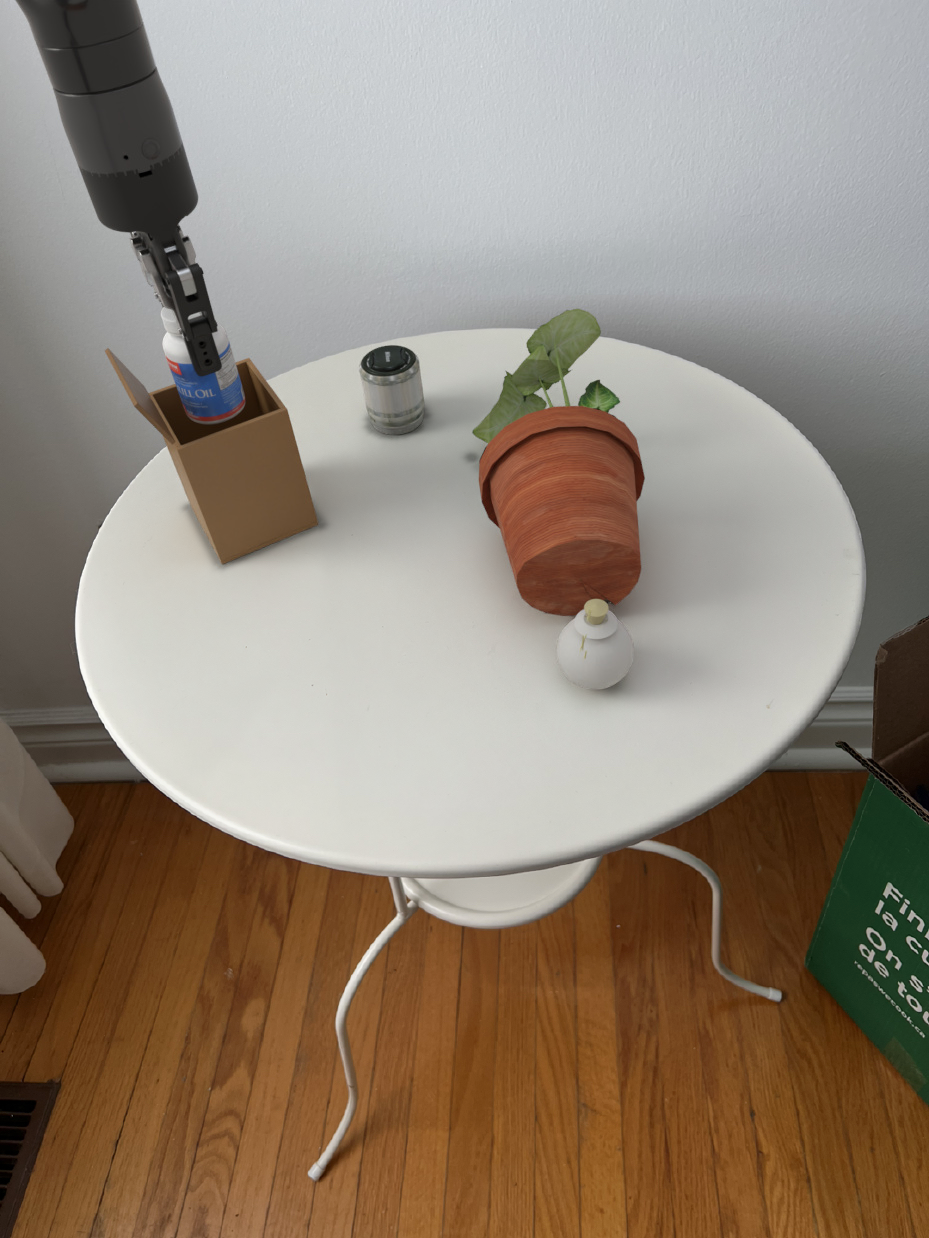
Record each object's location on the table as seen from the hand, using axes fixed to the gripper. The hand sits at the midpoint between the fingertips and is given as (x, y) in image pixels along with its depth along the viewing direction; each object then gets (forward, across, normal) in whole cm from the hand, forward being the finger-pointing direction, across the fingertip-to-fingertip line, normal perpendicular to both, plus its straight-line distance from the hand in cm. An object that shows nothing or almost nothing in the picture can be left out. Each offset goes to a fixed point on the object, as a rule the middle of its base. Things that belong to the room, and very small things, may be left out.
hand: (198, 355), depth 78 cm
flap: (+2, 0, -6) cm, 6 cm away
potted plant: (+18, +15, +26) cm, 35 cm away
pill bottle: (+6, 0, 0) cm, 6 cm away
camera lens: (+18, -6, +19) cm, 27 cm away
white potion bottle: (+18, +35, +17) cm, 43 cm away
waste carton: (+18, 0, 0) cm, 18 cm away
